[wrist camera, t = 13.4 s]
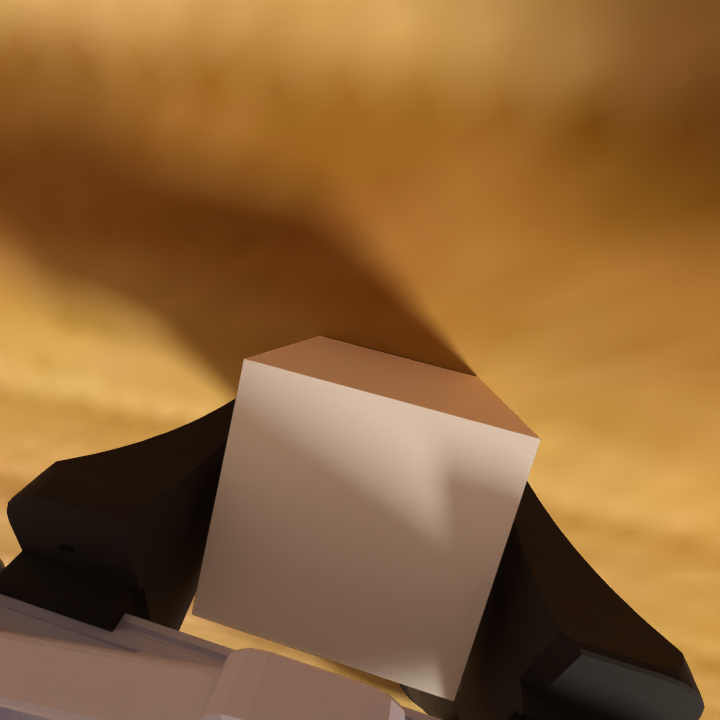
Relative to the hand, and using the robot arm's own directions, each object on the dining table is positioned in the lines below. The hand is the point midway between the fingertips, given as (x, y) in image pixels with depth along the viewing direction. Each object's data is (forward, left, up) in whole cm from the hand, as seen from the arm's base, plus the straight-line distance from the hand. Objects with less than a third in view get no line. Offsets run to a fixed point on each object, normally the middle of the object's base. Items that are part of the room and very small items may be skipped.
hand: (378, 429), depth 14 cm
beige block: (0, +1, -1) cm, 2 cm away
